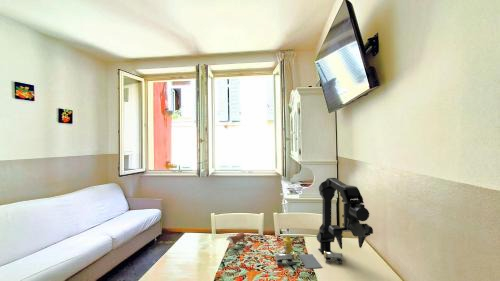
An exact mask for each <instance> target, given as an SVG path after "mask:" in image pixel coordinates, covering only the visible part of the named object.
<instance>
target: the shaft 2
mask: <svg viewBox="0 0 500 281" xmlns="http://www.w3.org/2000/svg"><path fill="white" fill-rule="evenodd" d="M323 259H325V263H327V264H331V262H332V259H333V260H335V261H336V264H337V265H343V253H340V252H333V251H332V252H326V251H324V254H323Z"/></svg>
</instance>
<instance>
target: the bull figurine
mask: <svg viewBox="0 0 500 281" xmlns="http://www.w3.org/2000/svg"><path fill="white" fill-rule="evenodd" d="M225 240H226V241H228V242H230V243H231V244H232V248H233V249H234V250H235V249H236V246H237V245H240V242H242V245H245V232H244V231H241V232H238V233H236V234H229V235H227V237H226V239H225Z"/></svg>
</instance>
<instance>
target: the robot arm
mask: <svg viewBox="0 0 500 281" xmlns="http://www.w3.org/2000/svg"><path fill="white" fill-rule="evenodd" d="M318 191H319V195H320V197H321V199H322V214H321V215H322V216H321V217H322V223H321V225H320V226H319V228H318V229H319V231H318V233H317V235H316V241H317V242H318V243H319V246H320V247H319V248H318V249H317V250H318V251H319V252H320V253H321V255H324V251H326V252H333V250H331V249H332V248H331V247H332V246H331V243H335V239H336V242H337V244H338V246H339V248H340V250H342V249H343V237H344V236H343V233H344V232H345V233H348V232H350V233H351V234H352V235H353V236H354V237H357V239H358V242H357V243H358V247H359V248H360V249H362V247H363V245H364V242H365V240H366V238H367V237H369V236H371V235H373V234H374V228H373V227H372V226H370V225H369V224H368V223H361V222H366V221H367V220H368V219H369V217H370V212H369V209H367V208H366V207H365V206H366V205H365V204H364V203H365V202H364V198H363V195H361V191H360V189H359V187H357V186H355V185H349V184H346V183H344V182H342V181H341V180H339V179H338V178H336V177H328V178H326V180H324V181H323V182H321V183H320V184H319V186H318ZM336 191H337V192H339V196H340V197H341V198H342V200H341V202H342V203H343V214H342V216H341V217H342V218H343V223H342V227H341V226H339V225H337V224H334V225H333V224H332V201H333V199H334V197H335V194H336Z"/></svg>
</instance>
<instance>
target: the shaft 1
mask: <svg viewBox="0 0 500 281" xmlns="http://www.w3.org/2000/svg"><path fill="white" fill-rule="evenodd" d="M296 254H297V253H296V252H291V253H290V254H286V253H282V254H280V253H279V254H277V253H276V254H275V262H276V265H277V266H283V261H286V264H287V265H288V266H289V265H294V261H296V260H297V256H296Z"/></svg>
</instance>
